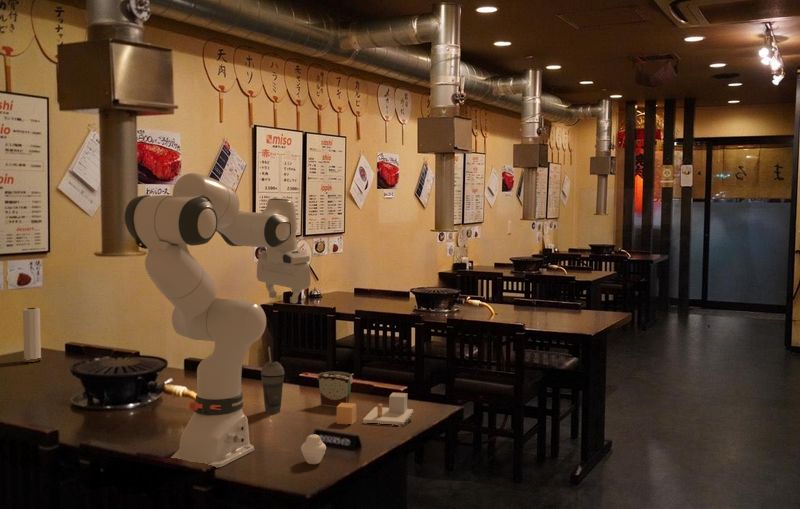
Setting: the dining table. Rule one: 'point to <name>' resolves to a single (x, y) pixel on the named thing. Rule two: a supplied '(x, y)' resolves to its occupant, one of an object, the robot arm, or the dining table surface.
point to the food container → (334, 388)
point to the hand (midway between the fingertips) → (283, 300)
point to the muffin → (313, 449)
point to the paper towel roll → (31, 333)
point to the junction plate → (391, 411)
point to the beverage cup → (272, 385)
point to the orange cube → (346, 413)
